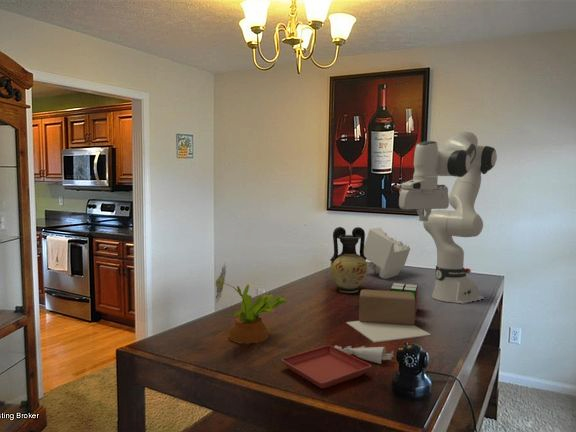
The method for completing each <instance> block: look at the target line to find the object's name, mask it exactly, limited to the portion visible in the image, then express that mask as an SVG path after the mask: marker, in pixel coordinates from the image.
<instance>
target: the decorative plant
mask: <svg viewBox="0 0 576 432" xmlns="http://www.w3.org/2000/svg"><path fill="white" fill-rule="evenodd" d="M226 269H227V266H226V263H225V262H223V266H221V272H220V275H219V276H218V278H217V279H216V280H215V286H216V292H215V293H216V295H215V300H216V302H215V303H218V302H219V300H220V299H221V297H222V292H223V289H224V285H227V286H228V287H232V288H233V289H234V290H235V291H236V292H237V293H238V294H239V296H240V297H241V299H242V300H241V308H240V311H239V310H236V312H235V313H234V317H235V320H234V323H233V324H232V325H231V327H230V329H229V334H228V337H229V338H230V339H231V340H233V341H236V342H241V343H256V344H259V343H258V342H260V343H263V342H265V341H266V339H267V338H268V339H269V334H268V331H267V327H266V325H265V324H264V322H263V319H262V318H261V316H260V315H262V314H264V313H265V312H267V313H273V312H274V310H273V309H275V308H277V307H280V305H282V304H286V303H287V302H288V301H289V300H288V298H287V299H286V298H283V295H281V296H279V297H276V296H275V295H273V294H271V293H270V294H269V295H268V294H263V295H262V296H259V298H258V299H257V300H256V301H255V302H254V303H253V300H252V295H250V294H248V292H249V289H250V284H247V285H246V286H245V288H244V289H243V293H242V290H241V288H240V286H239V285H237V287H235V286H233V285H230V284H228V283H225V281H226V279H225V278H226V274H227V270H226ZM229 338H228V339H229ZM268 339H267V340H268ZM264 340H265V341H264ZM262 341H263V342H262Z"/></svg>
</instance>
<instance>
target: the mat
mask: <svg viewBox="0 0 576 432" xmlns="http://www.w3.org/2000/svg"><path fill="white" fill-rule="evenodd" d="M346 324H347V325H348V326H349V327H351V328H353V329H354V330H355V331H356V332H358V333H359V334H361V335H362V336H363V337H365V338H367V339H368V340H369V341H370V342H373V343H374V344H375V343H376V344H377V343H383V342H390V341H397V340H406V339H413V338H420V337H421V338H422V337H429V336H432V334H431V333H429V332H428V331H425V330H424V329H422V328H420V327H418V326H416V325H415V324H414V325H402V324H389V323H375V322H362V321H360V320H354V321H347V322H346Z"/></svg>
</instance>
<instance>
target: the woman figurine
mask: <svg viewBox="0 0 576 432" xmlns="http://www.w3.org/2000/svg"><path fill="white" fill-rule="evenodd" d="M334 347H335V348H337V349H339V350H341V351H343V352H345V353H347V354H349V355H355V357H356V358H358V359H359V358H360V360H363V361H364V360H365V361H366V362H367V361H368V362H371V363H375V364H378V365H379V364H380V365H382V361H387V360H388V361H390V360H393V358H392V357H394V350H391V352H390V353H387V351H386V347H385V346H377V347H376V346H374V347H373V346H372V347H371V346H370V347H366V345H362V346H359V347H353V346H352V345H348V346H346V347H344V348H343V347H341V346H338V345H336V344H335V345H334ZM352 347H353V348H352Z"/></svg>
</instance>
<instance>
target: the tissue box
mask: <svg viewBox="0 0 576 432" xmlns="http://www.w3.org/2000/svg"><path fill="white" fill-rule="evenodd" d="M368 229H369V228H368ZM410 250H411V248H410V246H409V245H407V244H406V243H405V244H404V243H403V242H402V240H396V239H394V238H393V237H390V236H388V234H387V232H385V231H384V229H382V228H381V227H376V228H375V227H374V228H370V229H369V230H368V232H367V236H366V238H365V242H364V256H365V257H366V258H367V259H366V261H369V262H370V263H369V264H367V267H369V268H370V269H371V270H373V271H372V273H373V274H374V275H378V277H380V278H381V279H382V280H387V279H390V278H394V277H397V276H399V273H400V272H401V270H403V269H404V268H405V265H406V263H407V259H408V257H409V253H410Z"/></svg>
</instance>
